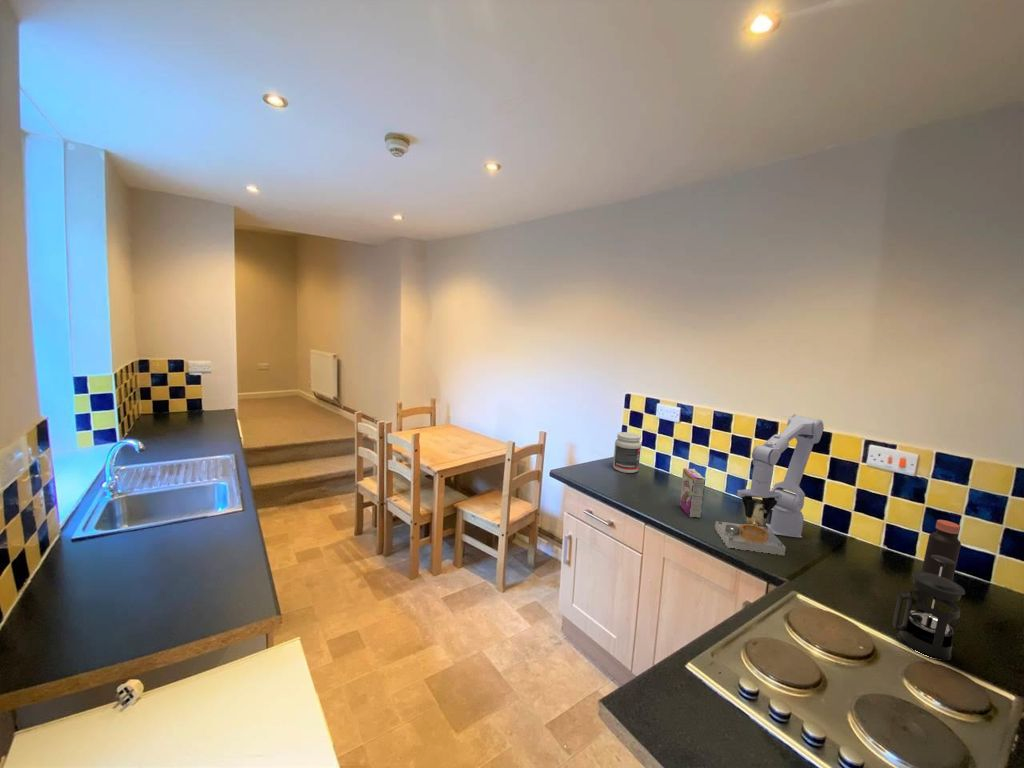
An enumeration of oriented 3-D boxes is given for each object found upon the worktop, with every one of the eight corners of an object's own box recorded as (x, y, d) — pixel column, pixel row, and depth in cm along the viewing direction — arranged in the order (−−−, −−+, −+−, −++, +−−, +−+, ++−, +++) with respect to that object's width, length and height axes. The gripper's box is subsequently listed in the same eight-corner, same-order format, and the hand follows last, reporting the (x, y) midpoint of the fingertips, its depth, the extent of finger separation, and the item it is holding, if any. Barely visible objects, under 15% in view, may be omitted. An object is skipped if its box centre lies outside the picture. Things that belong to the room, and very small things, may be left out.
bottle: (914, 579, 132) (927, 519, 129) (927, 576, 135) (940, 517, 132) (942, 593, 126) (957, 530, 123) (955, 589, 128) (970, 527, 125)
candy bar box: (678, 505, 178) (682, 467, 175) (690, 506, 178) (694, 468, 175) (688, 517, 167) (693, 477, 164) (701, 518, 167) (706, 478, 164)
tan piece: (756, 520, 152) (759, 497, 151) (770, 529, 145) (773, 505, 144) (743, 519, 152) (745, 496, 151) (756, 528, 144) (759, 504, 144)
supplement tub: (642, 474, 213) (646, 438, 210) (618, 474, 211) (621, 438, 208) (632, 465, 226) (635, 431, 223) (609, 465, 224) (612, 431, 221)
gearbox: (766, 535, 156) (768, 523, 155) (784, 555, 142) (786, 543, 141) (714, 528, 159) (716, 517, 158) (727, 548, 145) (728, 535, 144)
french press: (940, 639, 106) (960, 554, 103) (964, 667, 97) (987, 575, 94) (882, 625, 110) (899, 542, 107) (900, 650, 101) (920, 561, 98)
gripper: (775, 476, 151) (769, 512, 153) (734, 474, 151) (729, 510, 153) (788, 484, 144) (782, 522, 146) (745, 482, 144) (740, 519, 146)
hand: (755, 517), depth 149 cm, fingers closed on tan piece, 5 cm apart
